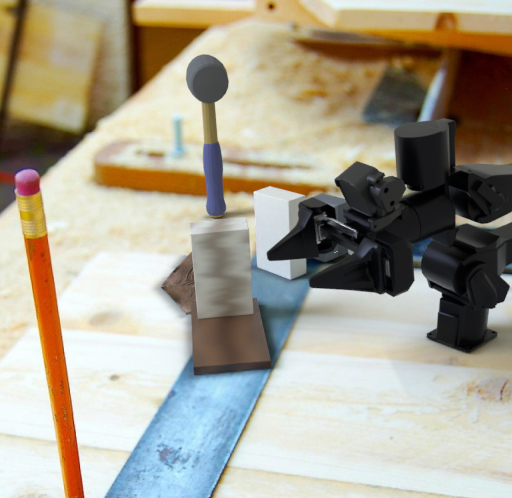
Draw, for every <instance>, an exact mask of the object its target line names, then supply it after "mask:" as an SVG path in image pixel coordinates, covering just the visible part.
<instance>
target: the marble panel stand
mask: <svg viewBox="0 0 512 498" xmlns="http://www.w3.org/2000/svg"><path fill="white" fill-rule="evenodd" d="M189 234H190V246H191V252H192V258H193V269H194V280H195V290H196V301H197V303H192V304H191V314H190V321H191V322H190V323H191V344H192V345H191V346H192V348H191V349H192V366H193V369H192V370H193V375H194V376H196V375H197V376H198V375H207V374H208V375H209V374H220V373H234V372H243V371H244V372H245V371H257V370H269V369H272V359H271V355H270V354H271V353H270V349H269V346H268V342H267V338H266V337H267V336H266V332H265V328H264V323H263V319H262V314H261V310H260V306H259V301H258V297H254V296H253V278H252V262H251V261H252V259H251V243H250V238H251V237H250V227H249V224H248V220H247V217H246V216H244V217H233V218H224V219H216V220H215V219H213V220H204V221H195V222H194V221H193V222H189Z"/></svg>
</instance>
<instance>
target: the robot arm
mask: <svg viewBox="0 0 512 498" xmlns="http://www.w3.org/2000/svg"><path fill="white" fill-rule="evenodd" d="M456 135H457V121H455V120H454V119H449V118H445V117H442V118H439V119H436V120H422V121H417V122H416V121H415V122H412V121H408V122H405V123H403V124H401V125H399V126H397V127H396V128H395V129H394V130H393V138H394V141H393V142H394V155H395V169H396V176H394V175H388V176H386V173H385V172H383V171H381V170H379V169H378V168H376V167H375V166H373V165H369V164H367V163H364V162H361V161H358V160H356V161H355V162H353V163H352V164H351V165H350V166H348V167H347V168H346V169H345V170H343V171H342V172H341V173H340V174H339V175H337V176H336V177H335V178H334V184H335V186H336V187H337V188H338V189H339V190H340V192H341V195H342V196H343V198H344V199H345V200H346V202H347V204H348V205H349V206H346V207H344V208H343V216H344V218H346V222H345V223H344V224H343V223H341V222H339V221H337V219H336V211H335V208H334V207H332V206H330V205H329V204H327V203H325V202H322V201H320V200H318V199H316V198H314V196H311V197H312V198H311V197H309V199H308V198H306V199H307V200H304V201H301V202H300V203H299V204H298V208H299V211H298V218H299V220H298V222H297V225H296V226H295V227H294V228H293V229H292V230H291V231H290V232H289V233H288V234H287V235H286V236H285V237H283V238H282V239H281V240H280V241H279V242H278V243H277V244H275V245H274V246H273V247H272V248H271V249H270V250H268V251H267V259H268V260H269V261H283V260H295V259H306V260H307V259H308V260H309V259H314V258H318V257H319V254H327V253H329V252H332V251H334V249H335V247H336V246H337V244H339V245H341V246H343V247H345V248H347V249H348V253H347V254H349V255H348V256H346V257H345V258H343V259H341V260H338V261H337V262H335V263H333V264H331V265H329V266H327V267H325V268H324V269H321V270H320V271H318V272H316V273H315V274H313V275H312V276H309V278H308V280H307V281H308V286H309V288H311V289H319V290H320V289H321V290H322V289H323V290H336V291H337V290H338V291H339V290H340V291H341V290H342V291H353V292H363V293H375V294H378V295H379V296H381V295H384V294H387V295H388V296H390V297H392V298H396V297H398V296H400V295H403V294H405V293H407V292H409V290H410V289H411V287H412V285H413V284H414V282H415V281H416V280H415V266H414V265H415V264H414V247H413V246H414V245H416V244H419V243H421V242H423V241H426V240H428V239H430V240H431V241H430V242H429V243H428V244H427V245H426V249H425V250H424V251H423V254H422V256H421V261H420V262H421V263H420V270H421V274H422V275H423V277H424V278H425V279H426V282H427V285H428V287H429V288H430V289H432V290H433V289H434V290H435V291H437V292H439V293H441V297H439V303H438V305H439V306H438V312H437V317H436V318H437V319H436V328H434V329H432V330H430V331H429V332H427V333H426V339H428V340H431V341H434V342H436V343H439V344H441V345H445V346H448V347H450V348H452V349H455V350H458V351H460V352H463V353H468V354H469V353H472V352H474V351H475V350H477V349H479V348H480V347H482V346H484V345H486V344H487V343H489V342H490V341H492V340H494V339H495V338H497V337H498V334H499V333H498V331H497V330H493V329H490V328H488V324H489V323H488V322H489V314H490V310H493V309H496V307H497V305H498V304H501V303H504V302H505V301H506V298H507V296H508V294H509V291H510V289H511V286H510V284H509V283H508V282H507V281H506V280H505V279H504V278H502V275H503V273H504V271H505V269H506V267H508V266H510V265H512V221H511V222H508V223H506V224H503V225H501V226H499V227H496V228H494V229H492V230H485V229H484V228H480V227H479V226H475V225H473V224H470V223H468V222H466V223H462V224H459V225H457V217H456V216H459V217H461V218H464V219H467V220H469V221H471V222H475V223H477V224H479V225H480V224H481V225H485V224H490V223H492V222H495V221H496V220H499V219H501V218H503V217H505V216H507V215H509V214H511V213H512V162H510V163H506V164H505V163H504V164H494V163H493V164H492V163H465V164H457V165H456ZM406 190H409V191H411V192H409V193H407V194H405V192H406Z"/></svg>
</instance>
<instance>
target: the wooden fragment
mask: <svg viewBox="0 0 512 498" xmlns="http://www.w3.org/2000/svg"><path fill="white" fill-rule="evenodd" d="M160 288H161V289H162V290H163V291H164V292H165V293H166V294H167V295H168V296H169V297H170V298H171V299H172V300H173V301H174V302H175V303H176V305H177V306H178V307H179V308H180V309H181V310H183V311H184V312H185V315H186V316H187V315H191V304H192V303H197V301H196V290H195V280H194V269H193V258H192V251H190V252H189V254H188V255H186V256H185V258H184V259H183V260H182V261H181V262H180V263H179V264H178V265H177V266H176V267H175V268H174V269H173V270H172V272H171V273H169V275H168V277H167V278H166V280H164V282H163V283H162V284H161V287H160Z"/></svg>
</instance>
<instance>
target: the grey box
mask: <svg viewBox="0 0 512 498" xmlns="http://www.w3.org/2000/svg"><path fill="white" fill-rule="evenodd" d="M312 197H314V198H316V199H318V200H320V201H322V202H325V203H327V204H329V205H330V206H332V207H334V208H335V211H336V219H337V221H339V222H341V223H343V224H344V223H345V222H346V218H344V216H343V208H344V207H346V206H349V205H348V204H347V202H346V200H345V198H344V197H340V196H335V195H332V194H328V193H323V192H322V193H319V194H316V195H314V196H311V197H309V198H312ZM309 198H305V200H307V199H309ZM336 251H338V252H336ZM334 252H336V253H334ZM346 254H349V253H348V249H347V248H345V247H343V246H341V245H339V244H337V246H336V247H335V249H334V251H332V252H329V253H327V254H319V257H318V258H313V259H314V260H317V261H320V262H323V263H327V262H329V261H332V260H334V259H336V258H337V259H338V258H340V257H341V256H344V255H346Z"/></svg>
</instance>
